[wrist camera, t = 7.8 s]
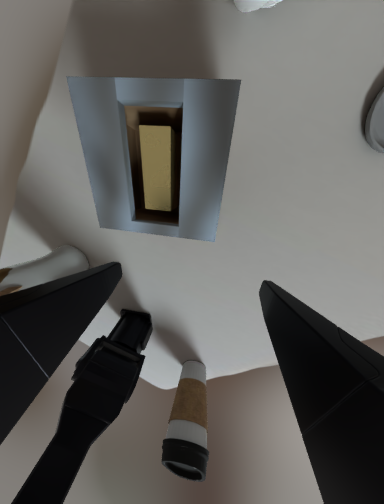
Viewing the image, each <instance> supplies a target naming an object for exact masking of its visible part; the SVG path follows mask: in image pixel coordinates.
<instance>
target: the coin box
mask: <svg viewBox="0 0 384 504" xmlns="http://www.w3.org/2000/svg"><path fill="white" fill-rule="evenodd" d="M66 77H67V76H66ZM67 82H68V86H69V91H70V95H71V100H72V104H73V108H74V113H75V117H76V122H77V126H78V131H79V135H80V140H81V144H82V149H83V153H84V158H85V162H86V166H87V171H88V175H89V180H90V184H91V189H92V193H93V198H94V202H95V207H96V211H97V216H98V220H99V225H100V228H108V229H116V230H124V231H132V232H140V233H147V234H155V235H163V236H171V237H179V238H187V239H195V240H203V241H210V242H215V237H216V231H217V225H218V219H219V212H220V206H221V200H222V194H223V188H224V182H225V176H226V170H227V164H228V157H229V151H230V145H231V139H232V133H233V127H234V121H235V115H236V108H237V102H238V96H239V90H240V84H241V80H231V79H176V78H122V77H67ZM139 125H146V126H170V127H171V128H172V129H173V130H174V132H175V133H176V134H177V135H178V137H179V138H180V139H181V141H182V152H181V179H180V206H178V207H176V208H175V209H173V210H172V211H163V210H153V209H145V196H144V183H143V170H142V157H141V144H140V131H139Z"/></svg>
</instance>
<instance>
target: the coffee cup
mask: <svg viewBox="0 0 384 504" xmlns="http://www.w3.org/2000/svg"><path fill="white" fill-rule="evenodd" d="M206 396H207V395H206V368H205V366H204V365H203V364H202V363H200V362H197V361H186V362H185V363H184V364H183V368H182V372H181V376H180V380H179V384H178V388H177V391H176V395H175V399H174V403H173V407H172V411H171V415H170V419H169V427H168V431H167V435H166V439H164V440H163V446H162V449H163V453H162V464H163V465H164V466H165V467H166V468H167V469H169V470H170V471H171V472H172V473H174V474H175V475H177V476H179V477H182V478H185V479H187V480H192V481H198V482H202V481H204V480H205V477H206V467H207V461H208V455H209V451H208V450H207V431H208V430H207V397H206Z"/></svg>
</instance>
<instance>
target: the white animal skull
mask: <svg viewBox="0 0 384 504" xmlns="http://www.w3.org/2000/svg"><path fill="white" fill-rule="evenodd" d="M280 1H282V0H234V4H235V6H236V8H237V9H238V10H239V11H240V12H243V13H248V12H250V11H254V10H258V9H259V8H269V7H272V6H273V5H276V4H275V3H278V2H280ZM275 7H276V6H275Z"/></svg>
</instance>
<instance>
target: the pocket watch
mask: <svg viewBox="0 0 384 504" xmlns="http://www.w3.org/2000/svg"><path fill="white" fill-rule="evenodd" d="M365 134H366V140H367V141H368V143H369V144H370V146H371V147H372V148H373V149H374V150H376V151H378V152H381V153H384V87H383V89H382V90H381V91H380V92H379V94H378V95H377V97H376V99H375V100H374V102H373V104H372V106H371V108H370V111H369V113H368V116H367V120H366V124H365Z"/></svg>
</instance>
